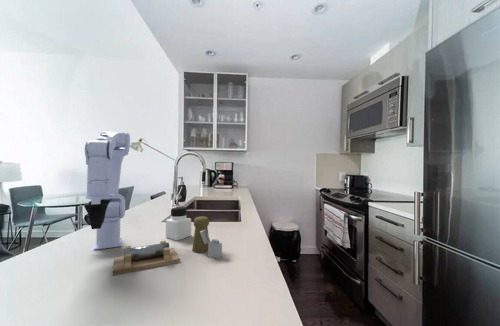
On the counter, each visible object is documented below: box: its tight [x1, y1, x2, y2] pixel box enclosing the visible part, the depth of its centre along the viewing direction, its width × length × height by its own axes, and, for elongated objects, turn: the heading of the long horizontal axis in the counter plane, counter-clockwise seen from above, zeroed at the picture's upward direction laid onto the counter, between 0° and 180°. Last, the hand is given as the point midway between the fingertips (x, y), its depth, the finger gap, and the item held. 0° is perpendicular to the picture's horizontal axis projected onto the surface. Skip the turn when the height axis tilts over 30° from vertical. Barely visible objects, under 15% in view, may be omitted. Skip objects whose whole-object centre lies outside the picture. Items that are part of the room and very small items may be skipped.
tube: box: [123, 242, 170, 263], centre depth 66 cm, size 4×12×4 cm, turn 119°
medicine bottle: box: [165, 205, 192, 241], centre depth 90 cm, size 7×7×12 cm
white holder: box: [200, 229, 223, 259], centre depth 71 cm, size 7×2×8 cm, turn 72°
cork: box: [191, 216, 210, 254], centre depth 76 cm, size 6×6×11 cm
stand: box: [111, 240, 181, 276], centre depth 66 cm, size 10×17×4 cm, turn 119°
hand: (97, 225), depth 67 cm, fingers open, 7 cm apart
